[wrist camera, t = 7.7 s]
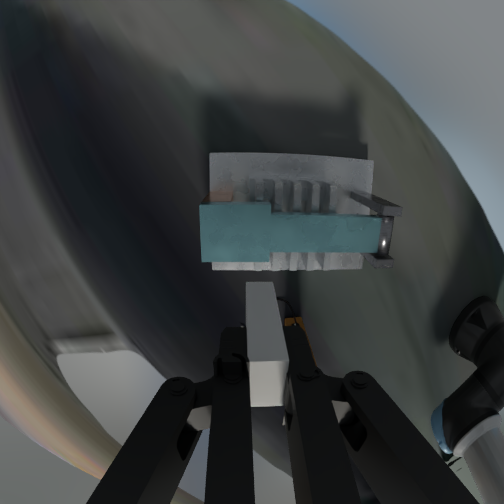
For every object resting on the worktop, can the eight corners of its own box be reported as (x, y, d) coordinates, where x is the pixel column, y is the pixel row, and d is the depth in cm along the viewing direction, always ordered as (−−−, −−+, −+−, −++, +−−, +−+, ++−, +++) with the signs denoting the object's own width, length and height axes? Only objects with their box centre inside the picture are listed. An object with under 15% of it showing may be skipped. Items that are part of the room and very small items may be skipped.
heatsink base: (367, 159, 37) (412, 166, 26) (357, 263, 42) (390, 301, 31) (211, 152, 36) (197, 154, 25) (213, 264, 42) (203, 307, 30)
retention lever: (389, 206, 30) (398, 210, 28) (382, 255, 32) (390, 262, 30) (202, 201, 29) (199, 205, 27) (204, 255, 31) (201, 262, 29)
